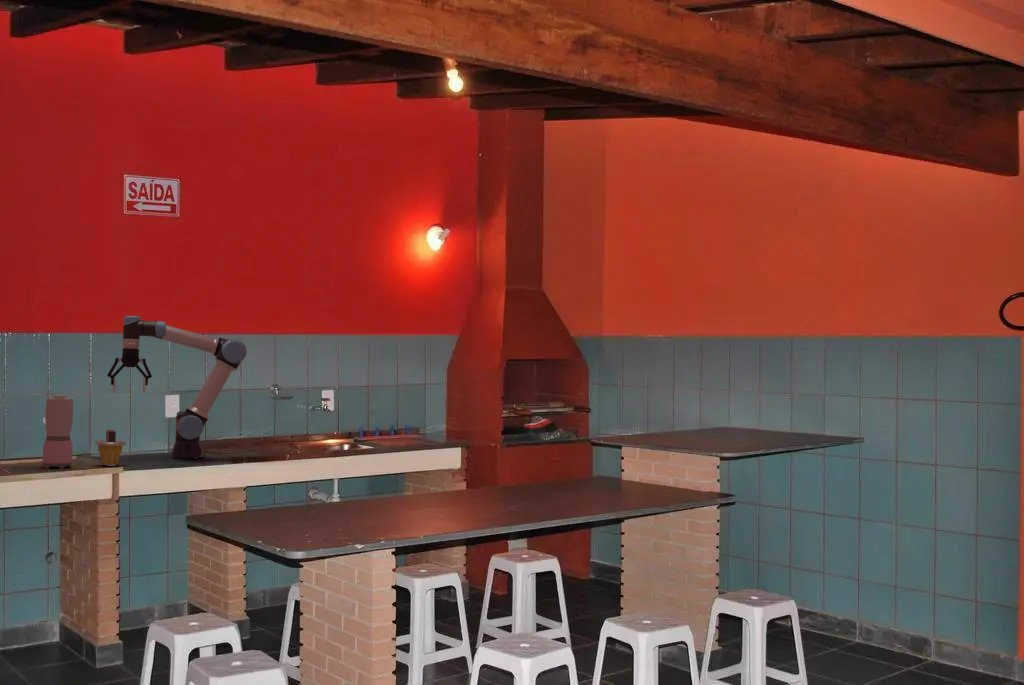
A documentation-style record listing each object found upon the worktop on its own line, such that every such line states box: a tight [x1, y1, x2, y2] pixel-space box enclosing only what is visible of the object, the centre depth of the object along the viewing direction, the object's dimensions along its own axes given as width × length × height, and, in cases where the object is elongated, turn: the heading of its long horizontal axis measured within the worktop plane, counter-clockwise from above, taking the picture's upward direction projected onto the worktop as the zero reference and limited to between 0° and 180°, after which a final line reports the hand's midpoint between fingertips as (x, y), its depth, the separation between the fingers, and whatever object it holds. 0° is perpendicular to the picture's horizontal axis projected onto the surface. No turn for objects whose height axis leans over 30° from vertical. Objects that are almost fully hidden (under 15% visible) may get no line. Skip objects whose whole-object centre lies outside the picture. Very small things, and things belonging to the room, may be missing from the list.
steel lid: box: [94, 429, 126, 446], centre depth 494 cm, size 13×13×6 cm
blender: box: [41, 394, 74, 470], centre depth 482 cm, size 16×12×32 cm
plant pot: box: [97, 445, 123, 465], centre depth 494 cm, size 10×10×10 cm
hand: (129, 392), depth 519 cm, fingers open, 13 cm apart
